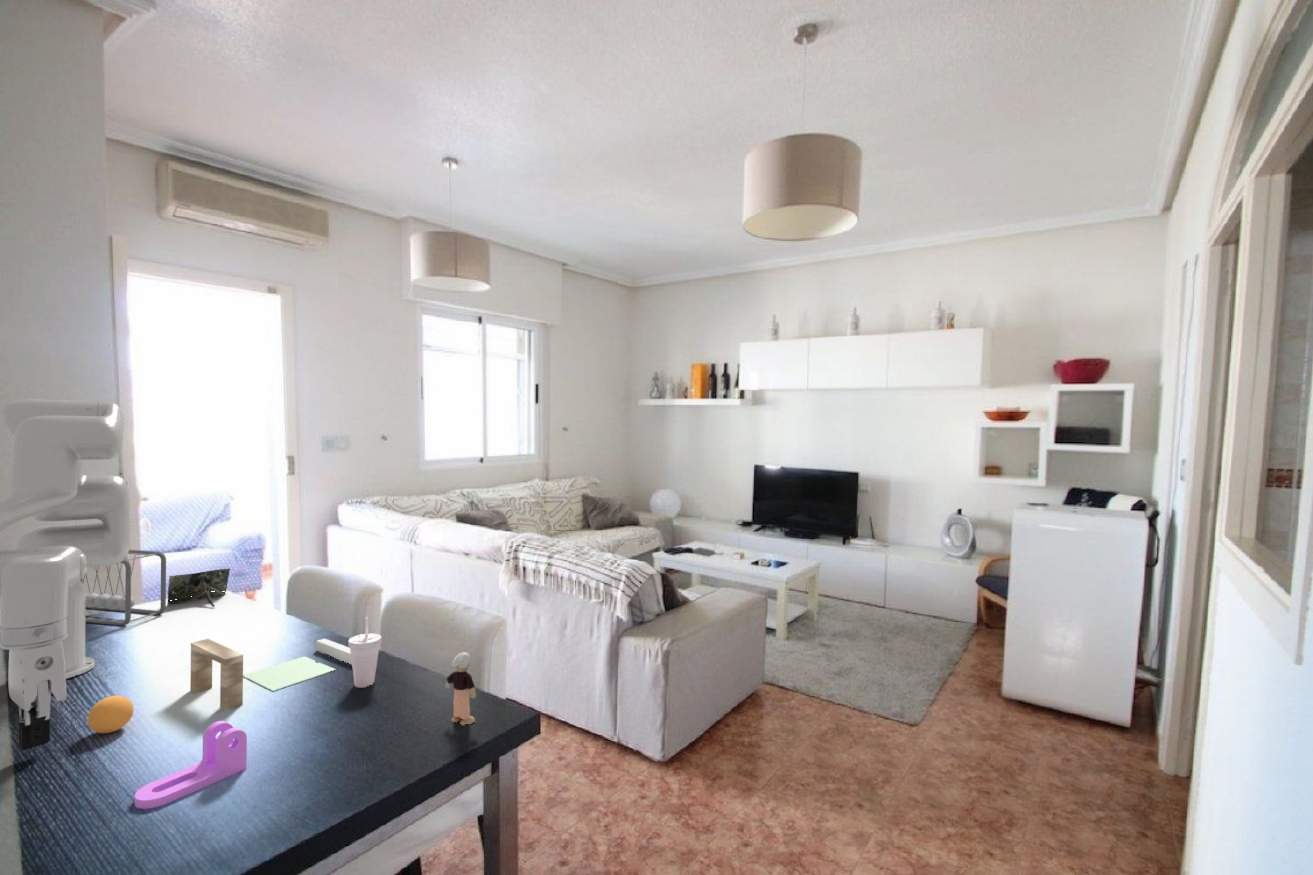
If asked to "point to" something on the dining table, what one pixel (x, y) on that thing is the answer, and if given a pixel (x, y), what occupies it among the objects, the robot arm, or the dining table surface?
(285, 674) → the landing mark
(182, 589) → the dark piece
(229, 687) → the bridge
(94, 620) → the newton's cradle
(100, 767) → the dining table surface
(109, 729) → the ball
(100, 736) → the dining table surface
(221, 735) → the bracket
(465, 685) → the grandmother figurine
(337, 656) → the wall
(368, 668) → the smoothie
